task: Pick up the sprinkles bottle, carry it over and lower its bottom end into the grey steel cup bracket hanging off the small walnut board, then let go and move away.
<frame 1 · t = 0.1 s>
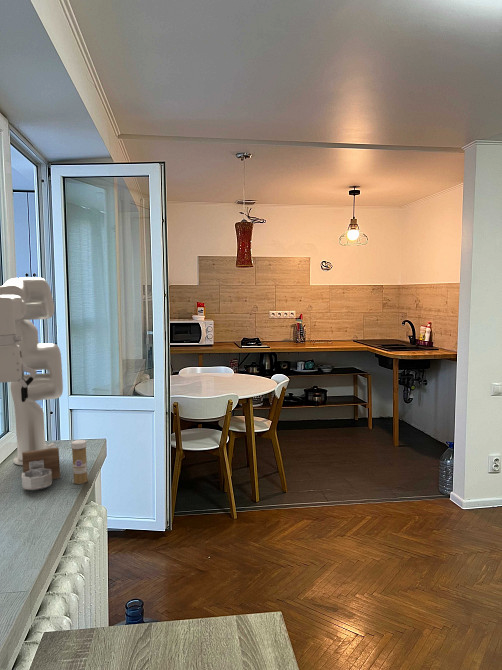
hand: (5, 402, 147), 31 cm above the table, tool pointing down, fingers open, 9 cm apart
mount board: (41, 463, 174), on the table
sprinkles bottle: (80, 482, 170), on the table
cup bracket: (36, 474, 166), point 4 cm above the table
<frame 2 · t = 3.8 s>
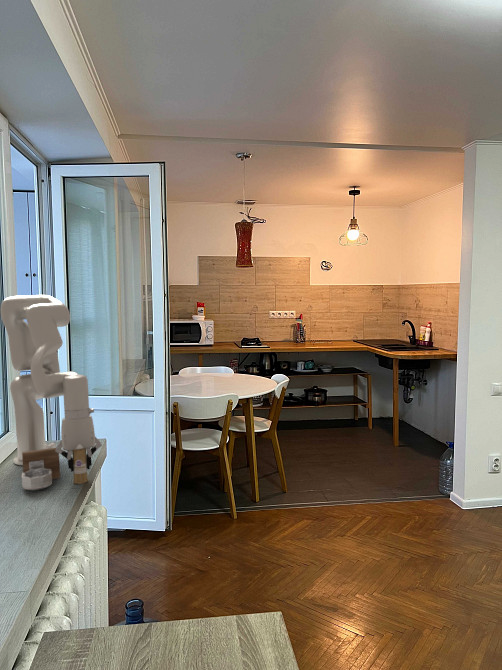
hand: (80, 468, 170), 4 cm above the table, tool pointing down, fingers closed on sprinkles bottle, 4 cm apart
sprinkles bottle: (80, 482, 170), on the table, touching gripper
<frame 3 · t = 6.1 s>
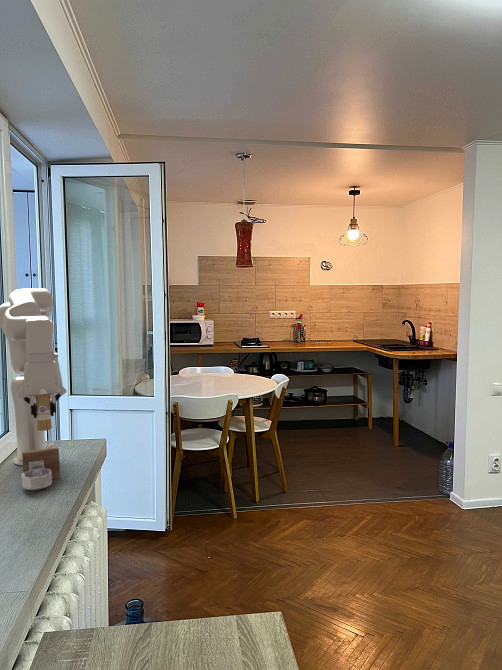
hand: (43, 415, 164), 23 cm above the table, tool pointing down, fingers closed on sprinkles bottle, 4 cm apart
sprinkles bottle: (44, 429, 165), point 18 cm above the table, touching gripper
when the fingers open (7 cm above the table, at t = 8.6 s): sprinkles bottle stays where it is, resting on cup bracket.
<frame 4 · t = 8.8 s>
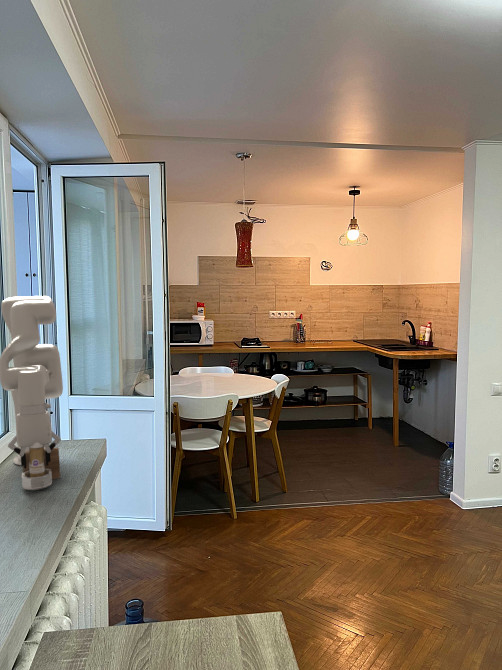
hand: (36, 465, 165), 8 cm above the table, tool pointing down, fingers open, 5 cm apart
sprinkles bottle: (37, 482, 165), point 2 cm above the table, touching cup bracket
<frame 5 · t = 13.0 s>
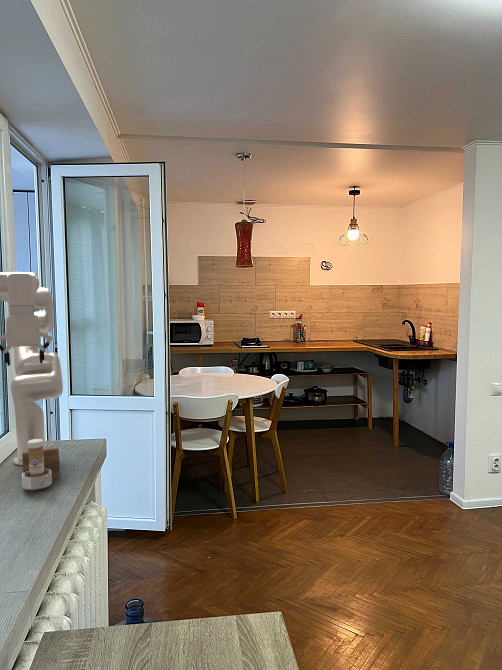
hand: (25, 364, 170), 38 cm above the table, tool pointing down, fingers open, 9 cm apart
nothing on the table moved.
at the end: sprinkles bottle 0.2 cm off-centre on the cup bracket, point 1.8 cm above the cup bracket's base; sprinkles bottle tilted 0°; the gripper is holding nothing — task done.
